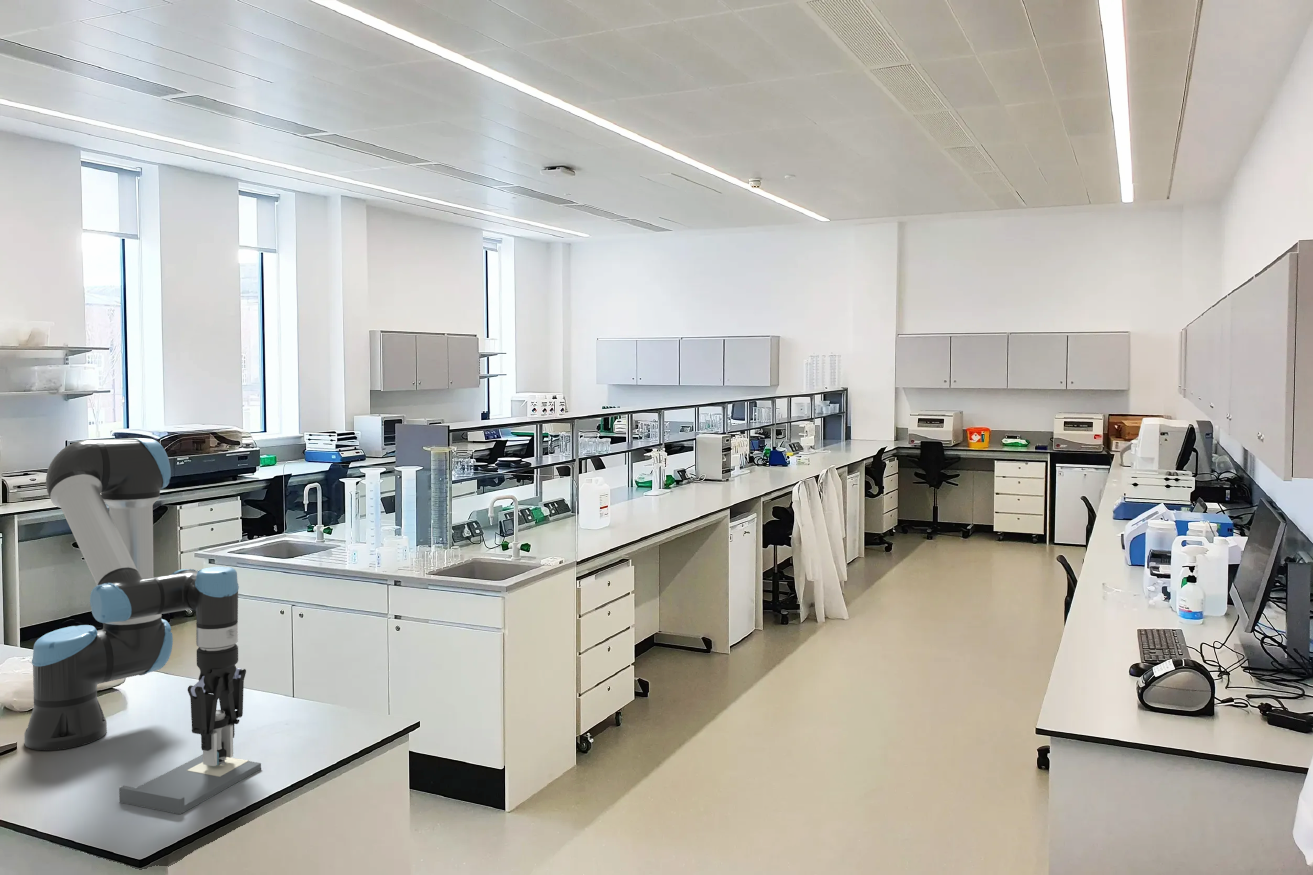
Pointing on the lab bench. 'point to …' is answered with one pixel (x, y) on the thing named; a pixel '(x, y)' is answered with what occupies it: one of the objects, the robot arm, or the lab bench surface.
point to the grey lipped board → (187, 785)
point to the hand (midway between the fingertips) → (218, 759)
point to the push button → (220, 723)
